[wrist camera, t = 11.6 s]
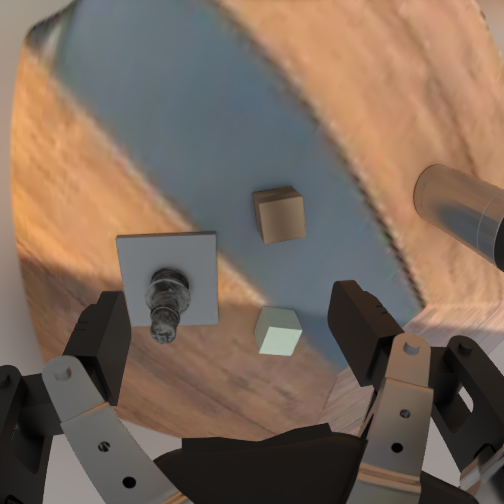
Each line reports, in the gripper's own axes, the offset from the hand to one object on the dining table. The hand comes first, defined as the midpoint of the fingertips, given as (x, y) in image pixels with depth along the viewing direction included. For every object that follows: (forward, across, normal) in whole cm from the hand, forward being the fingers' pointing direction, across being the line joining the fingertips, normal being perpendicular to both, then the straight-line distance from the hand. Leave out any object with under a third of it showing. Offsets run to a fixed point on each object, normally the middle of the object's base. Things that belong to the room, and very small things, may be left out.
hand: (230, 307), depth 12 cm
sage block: (+28, -9, +23) cm, 37 cm away
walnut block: (+28, -8, +5) cm, 30 cm away
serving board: (+28, +6, +15) cm, 32 cm away
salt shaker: (+27, +6, +15) cm, 32 cm away
